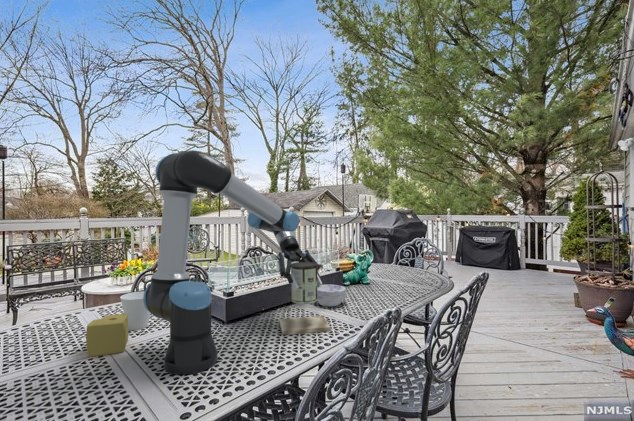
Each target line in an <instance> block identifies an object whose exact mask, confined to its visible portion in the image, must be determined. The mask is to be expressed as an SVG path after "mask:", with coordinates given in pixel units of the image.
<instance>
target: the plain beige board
mask: <svg viewBox="0 0 634 421" xmlns="http://www.w3.org/2000/svg"><path fill="white" fill-rule="evenodd" d="M278 324H279V327H280V330H281V331H280V332H281V335H282V336H285V335H286V334H288V335H297V334H298V335H299V333H300V334H312V333H323V332H331V331H332V330H331V328H332V327H331V326H330V324H329V323H328V321H327V320H326V318H325V317H324V316H323V315H318V316H316V315H315V316H306V317H291V318H290V317H288V318H279V319H278ZM286 336H287V335H286Z"/></svg>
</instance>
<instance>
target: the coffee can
mask: <svg viewBox="0 0 634 421" xmlns="http://www.w3.org/2000/svg"><path fill="white" fill-rule="evenodd" d="M317 263H318V262H317ZM317 263H314V262H292V264H291V270H290V274H291V273H292V274H293V276H294V278H295V280H296V282H297V285H298V287H299V288H298V290H297V291H296V292H294V290H293V287H292V285H291V284H290V286H291V302H292V303H294V304H299V305H308V304H314V303H317V302H318V299H317V265H319V264H317Z"/></svg>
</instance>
